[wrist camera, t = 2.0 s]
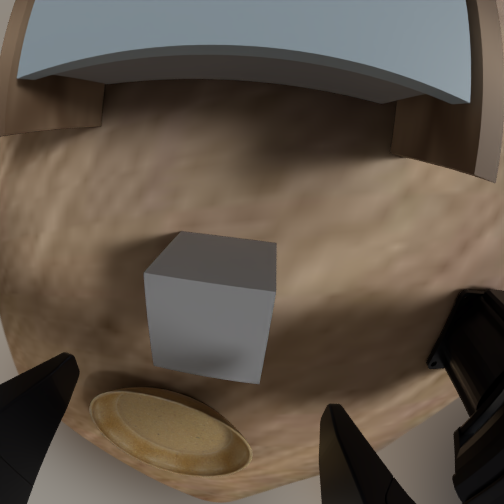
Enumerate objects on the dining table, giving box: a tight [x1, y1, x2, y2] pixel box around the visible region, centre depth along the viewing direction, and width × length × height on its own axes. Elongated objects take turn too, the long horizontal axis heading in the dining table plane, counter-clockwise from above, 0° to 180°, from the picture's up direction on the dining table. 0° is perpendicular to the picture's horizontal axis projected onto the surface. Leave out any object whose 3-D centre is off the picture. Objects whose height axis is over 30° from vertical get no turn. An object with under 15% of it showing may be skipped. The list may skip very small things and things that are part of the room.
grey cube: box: [144, 231, 276, 384], centre depth 14 cm, size 5×5×5 cm
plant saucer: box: [89, 387, 252, 477], centre depth 21 cm, size 15×15×3 cm
